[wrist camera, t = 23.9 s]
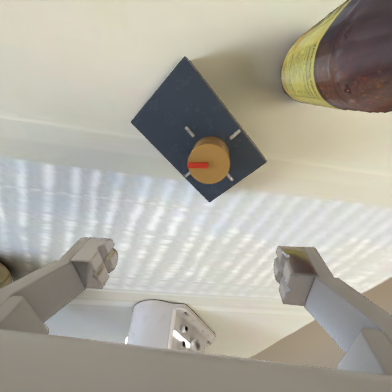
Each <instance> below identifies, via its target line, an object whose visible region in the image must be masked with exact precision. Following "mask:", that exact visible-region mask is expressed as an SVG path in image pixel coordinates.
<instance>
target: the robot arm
mask: <svg viewBox="0 0 392 392" xmlns="http://www.w3.org/2000/svg"><path fill="white" fill-rule="evenodd" d="M114 245H115V244H114V242H113V240H112V239H108V238H90V237H83V238H80V239H79V240H78V241H77V242H76V243H75V244H74V245H73V246H72V247H71V249H70V250H69V251H68V252H67V253H66V254H65V255H64V256H63V257H62V258H61V259H60V260H59V261H57V260H56V261H54V262H52V263H50V264H48V265H46V266H44V267H42V268H40V269H38V270H36V271H34V272H32V273H30V274H28V275H26V276H24V277H22V278H20V279H18V280H16V281H15V282H13V283H11V284H9V285H7V286H5V287H3V288H1V289H0V392H392V315H390V314H389V313H388V312H386V311H385V310H383V309H382V308H380V307H379V306H377V305H376V304H375V303H373V302H372V301H370V300H369V299H367V298H366V297H365V296H363V295H362V294H360V293H359V292H357V291H356V290H355V289H353V288H352V287H350V286H349V285H347V284H346V283H345V282H343V281H342V280H340V279H339V278H334V277H333V275H332V273H331V272H330V270H329V269H328V267H327V265H326V264H325V262H324V261H323V259H322V257H321V256H320V254H319V253H318V251H317V250H316V248H314V247H290V246H278V247H277V251H276V254H277V258H276V259H275V260H274V274H275V278H276V281H277V282H278V283H279V284H280V286H279V292H280V295H281V299H282V302H283V304H290V305H299V306H304V307H305V308H306V310H307V311H308V312H309V313H310V314H311V315H312V316H313V317H314V318H315V320H316V321H317V322H318V323H319V324H320V325H321V326H322V327H323V328H324V330H325V331H326V332H327V333H328V334H329V335H330V336H331V337H332V338H333V340H334V341H335V342H336V343H337V344H338V345H339V346H340V347H341V348H342V350H343V351H344V352H345V355H344V356H343V358H342V359H341V361H340V362H339V364H338V365H337V368H338V369H334V368H325V367H317V366H308V365H300V364H291V363H283V362H274V361H266V360H258V359H250V358H241V357H233V356H225V355H216V354H208V353H205V347H206V346H208V345H210V344H211V343H213V342H214V340H215V337H216V335H215V334H214V333H213V332H212V331H211V330H210V329H209V328H208V327H207V326H206V324H205V323H204V322H203V321H202V320H201V319H200V318H199V317H198V316H197V315H196V314H195V313H194V312H193V311H192V310H191V309H190V308H189V307H188V306H187V305H185V304H172V303H168V302H164V301H158V300H148V301H143V302H140V303H138V304H136V305H135V307H134V308H133V315H132V321H131V326H130V331H129V335H128V337H127V338H126V340H125V343H126V344H124V343H116V342H107V341H99V340H90V339H82V338H73V337H65V336H57V335H48V333H49V329H48V328H47V326H46V325H45V324H44V322H45V321H46V320H48V319H49V318H50V317H51V316H53V315H54V314H55V313H56V312H58V311H59V310H60V309H61V308H63V307H64V306H65V305H66V304H68V303H69V302H70V301H71V300H73V299H74V298H75V297H76V296H78V295H79V294H80V293H81V292H83V291H84V290H85V288H93V289H102V288H103V286H104V285H105V283H106V281H107V280H108V278H109V273H110V272H111V271H113V270H114V268H115V267H116V265H117V261H118V253H117V251H116V250H115V249H114V248H113V247H114Z"/></svg>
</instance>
